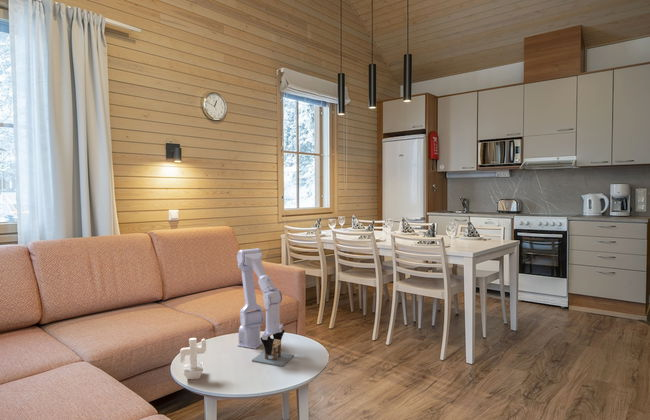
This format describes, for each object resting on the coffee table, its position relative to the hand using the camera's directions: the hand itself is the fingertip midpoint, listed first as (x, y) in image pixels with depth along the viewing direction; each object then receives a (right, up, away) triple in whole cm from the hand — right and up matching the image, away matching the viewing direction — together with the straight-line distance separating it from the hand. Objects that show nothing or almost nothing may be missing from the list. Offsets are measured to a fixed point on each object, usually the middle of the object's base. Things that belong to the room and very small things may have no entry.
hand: (273, 350), depth 176 cm
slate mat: (0, -4, 0) cm, 4 cm away
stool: (0, -3, 0) cm, 3 cm away
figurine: (-29, -5, -15) cm, 33 cm away
